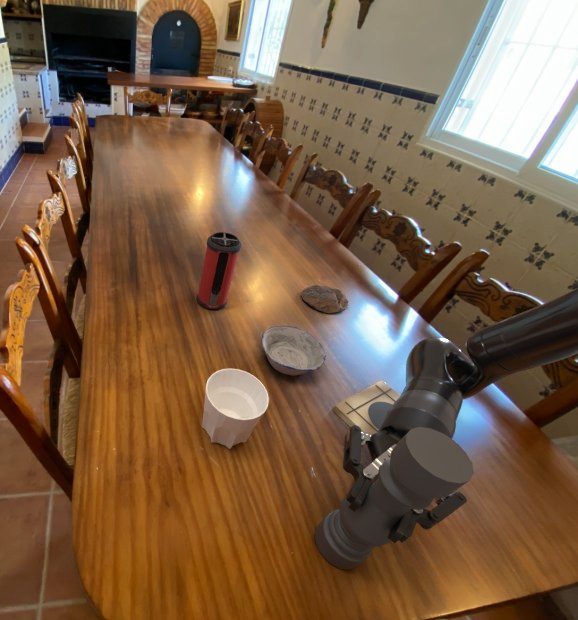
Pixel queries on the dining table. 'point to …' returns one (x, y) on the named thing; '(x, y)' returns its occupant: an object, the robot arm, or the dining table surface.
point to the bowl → (292, 350)
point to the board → (367, 407)
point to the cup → (233, 406)
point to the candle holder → (394, 496)
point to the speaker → (218, 270)
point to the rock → (325, 298)
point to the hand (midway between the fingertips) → (374, 521)
